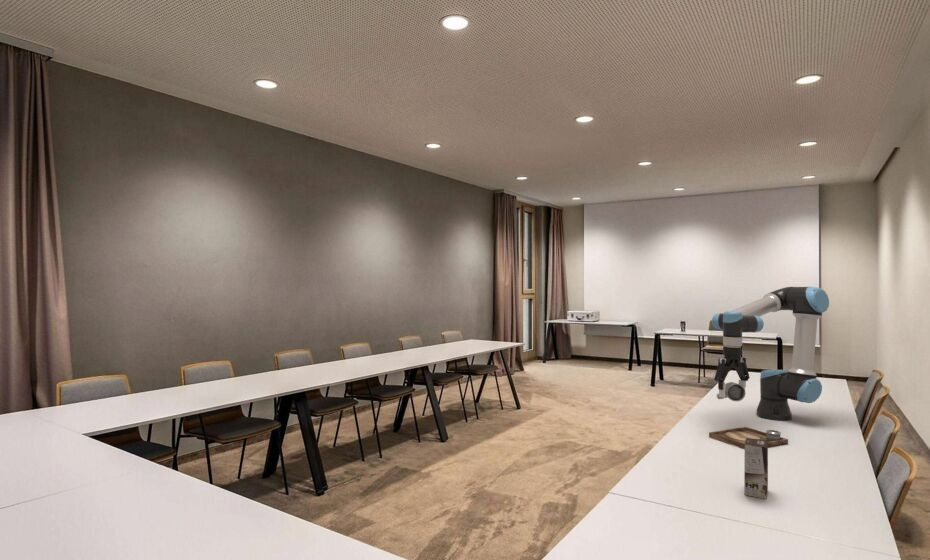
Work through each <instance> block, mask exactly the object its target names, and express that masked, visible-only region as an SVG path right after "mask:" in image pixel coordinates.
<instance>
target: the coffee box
mask: <svg viewBox="0 0 930 560" xmlns="http://www.w3.org/2000/svg"><path fill="white" fill-rule="evenodd" d="M743 476H744V479H743V481H744V493H743V494H744V495H745V496H748V497H755V498H759V499H763V498H764V500H767V498H768V491H769V490H768V489H769V448H768V441H767V440H761V439H751V438H746V441H745V449H744V475H743Z"/></svg>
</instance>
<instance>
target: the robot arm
mask: <svg viewBox="0 0 930 560" xmlns="http://www.w3.org/2000/svg"><path fill="white" fill-rule="evenodd" d="M829 306H830V299H829V296H828V294H827V292H826V291H825V290H824V289H823V288H821V287H816V286H815V287H814V286H785V287H782V288H779V289H777V290H773V291H770V292H768V293H766V294H764V295H763V297H761V298H760V299H757V300H754V301H752V302H750V303H747V304H745V305H742V306H740V307H736V308H735V309H733V310H731V311H730V310H727V311H724V312H722V313H721V312H720V313H715V314H714V315H713V316H712V317H711V323H712V327H713V328H715V329H716V330H720V331H721V330H722V333H723V334H722V345H723V346H722V355H723V356H724V358H718V361H717V362H718V364H717V368H716V371H715V375H714V381H715V382H717V384H718V385H717V388H718V394H719V397H723V398H724V399H726V398H725V384H726V382H725V380H726V378H727V376H728V375H729V372H730V371H731V369H734V370H735V371H736V373H737V375H738V377H739V379H738V384H740V385H742V386H743V387H744V389H745V390H746V386H747V384H746V383H747V382H748V381H749V380H750V373H749V370H748V366H747V358H746V357H742V356H743V348H742V346H743V333H753V334H754V333H759V332H761V331H762V330H763V329H764V325H765V323H764V320H763V318H762V317H761V316H764V315H766V314H770V313H777V312H779V311H780V312H781V311H792V315H793V316H794V317H795V323H794V324H795V326H794V337H793V349H792V359H791V360H792V361H791V362H792V363H791V368H789V369H788V370H786V369H766V370H761V372H760V378H759V381H760V385H759V387H760V401H758V406H757V408H756V412H755V413H756V414H755V415H756V416H758V417H760V418H763V419H766V420H774V421H789V420H792V419H793V415H792V414H793V413H792V411H791V408H790V405H789V402H788V400H791V401H797V402H800V403H806V404H813V403H815V402H816V401H817V400H819V398H820V396H821V394H822V390H823V384H822V383H821V382H822V381H820V380H819V379H818V377H817V374H816V372H815V371H814V366H815V365H814V364H815V354H816V353H815V351H816V340H817V329H818V320H820V319H821V318H822V316H823V313H825V312H827V310H828V308H829Z"/></svg>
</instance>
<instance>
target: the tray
mask: <svg viewBox="0 0 930 560" xmlns="http://www.w3.org/2000/svg"><path fill="white" fill-rule="evenodd" d="M708 437H709V438H710V439H712V440H713V439H714V440H716V441H719V442H721V443H726V444H728V445H732V446H734V447H737V448H740V449H743V450H745V441H746V438H751V439H761V440H766V431H765V432H764V431H761V430H758V429H754V428H752V427H751V428H750V427H748V426H747V427H746V426H742V427H737V428H728V429H723V430H717V431H710V432H708ZM780 445H781V446H786V445H789V439H788V438H784V437H782V436H780V440H776V441H771V442H769V441H768V449H769V448H775V447H781V446H780Z"/></svg>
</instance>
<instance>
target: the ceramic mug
mask: <svg viewBox="0 0 930 560" xmlns="http://www.w3.org/2000/svg"><path fill="white" fill-rule="evenodd" d="M745 397H746V388H745V389H744V387H743V386H742V385H740V384H739V383H738V382H733V381H731V382H725V398H723V397H719V393H717V394H716V398H717V399H718V400H724V399H726V398H728V399H729V400H730V401H732V402H741V401H742V400H744V398H745Z"/></svg>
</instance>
